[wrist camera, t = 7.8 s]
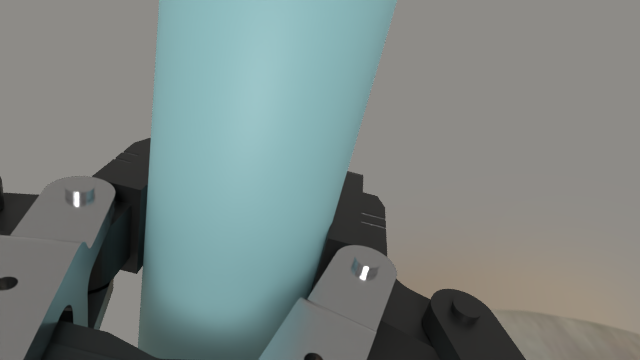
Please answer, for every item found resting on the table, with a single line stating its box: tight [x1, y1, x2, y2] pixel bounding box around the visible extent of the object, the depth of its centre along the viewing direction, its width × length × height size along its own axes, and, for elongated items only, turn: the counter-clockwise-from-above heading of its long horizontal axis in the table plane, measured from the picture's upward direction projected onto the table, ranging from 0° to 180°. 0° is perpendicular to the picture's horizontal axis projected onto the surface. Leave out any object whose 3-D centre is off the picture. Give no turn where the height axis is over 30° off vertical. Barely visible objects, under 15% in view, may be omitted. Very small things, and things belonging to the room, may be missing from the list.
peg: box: [138, 0, 397, 360], centre depth 11 cm, size 4×4×19 cm
